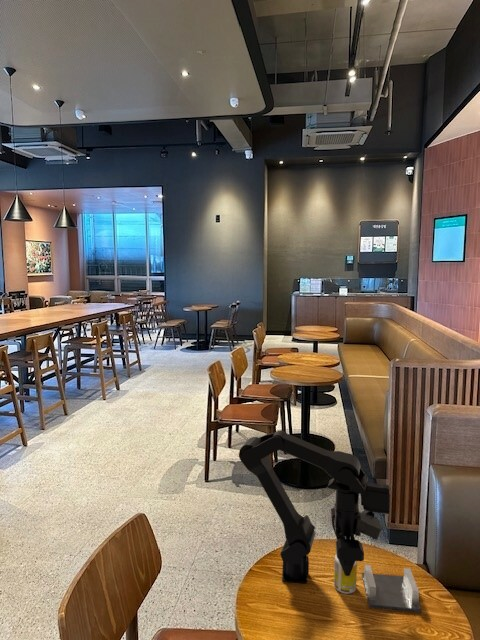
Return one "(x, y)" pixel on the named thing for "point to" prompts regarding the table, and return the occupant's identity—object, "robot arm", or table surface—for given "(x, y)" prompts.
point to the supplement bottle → (344, 578)
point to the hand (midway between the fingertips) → (345, 562)
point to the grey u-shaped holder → (391, 591)
